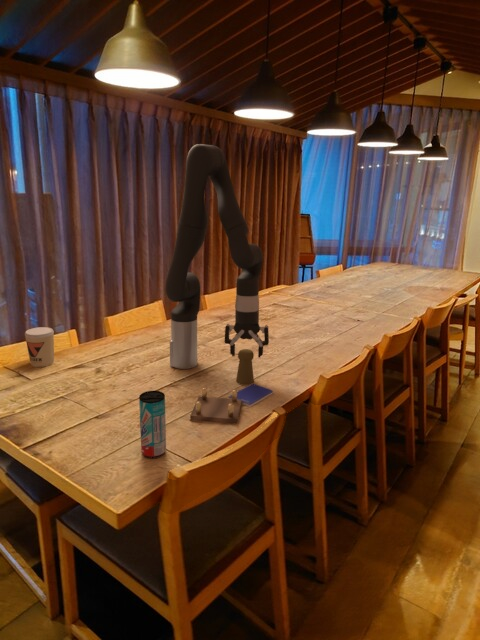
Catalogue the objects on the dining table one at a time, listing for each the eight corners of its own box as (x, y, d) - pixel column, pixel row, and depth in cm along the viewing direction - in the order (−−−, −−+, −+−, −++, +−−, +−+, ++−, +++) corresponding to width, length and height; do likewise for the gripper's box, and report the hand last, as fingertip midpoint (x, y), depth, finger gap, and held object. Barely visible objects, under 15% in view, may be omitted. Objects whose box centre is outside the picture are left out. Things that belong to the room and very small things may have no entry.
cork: (233, 379, 152) (233, 348, 149) (249, 376, 154) (250, 346, 151) (240, 386, 147) (241, 354, 144) (256, 383, 149) (258, 352, 146)
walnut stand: (190, 420, 124) (190, 404, 123) (198, 400, 136) (198, 385, 134) (237, 424, 123) (237, 407, 122) (241, 403, 135) (241, 388, 133)
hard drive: (249, 403, 133) (273, 390, 142) (228, 395, 137) (252, 383, 147) (249, 408, 133) (273, 394, 143) (228, 400, 138) (252, 387, 147)
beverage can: (145, 444, 112) (143, 389, 108) (168, 446, 112) (167, 391, 108) (138, 458, 107) (135, 400, 102) (162, 460, 106) (161, 402, 102)
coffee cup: (22, 365, 158) (18, 332, 155) (41, 356, 167) (38, 325, 163) (43, 369, 155) (39, 336, 152) (62, 360, 164) (59, 328, 160)
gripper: (270, 306, 146) (268, 353, 150) (226, 304, 147) (226, 351, 152) (269, 311, 139) (267, 361, 143) (223, 310, 140) (223, 359, 145)
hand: (246, 356), depth 148 cm, fingers open, 8 cm apart
